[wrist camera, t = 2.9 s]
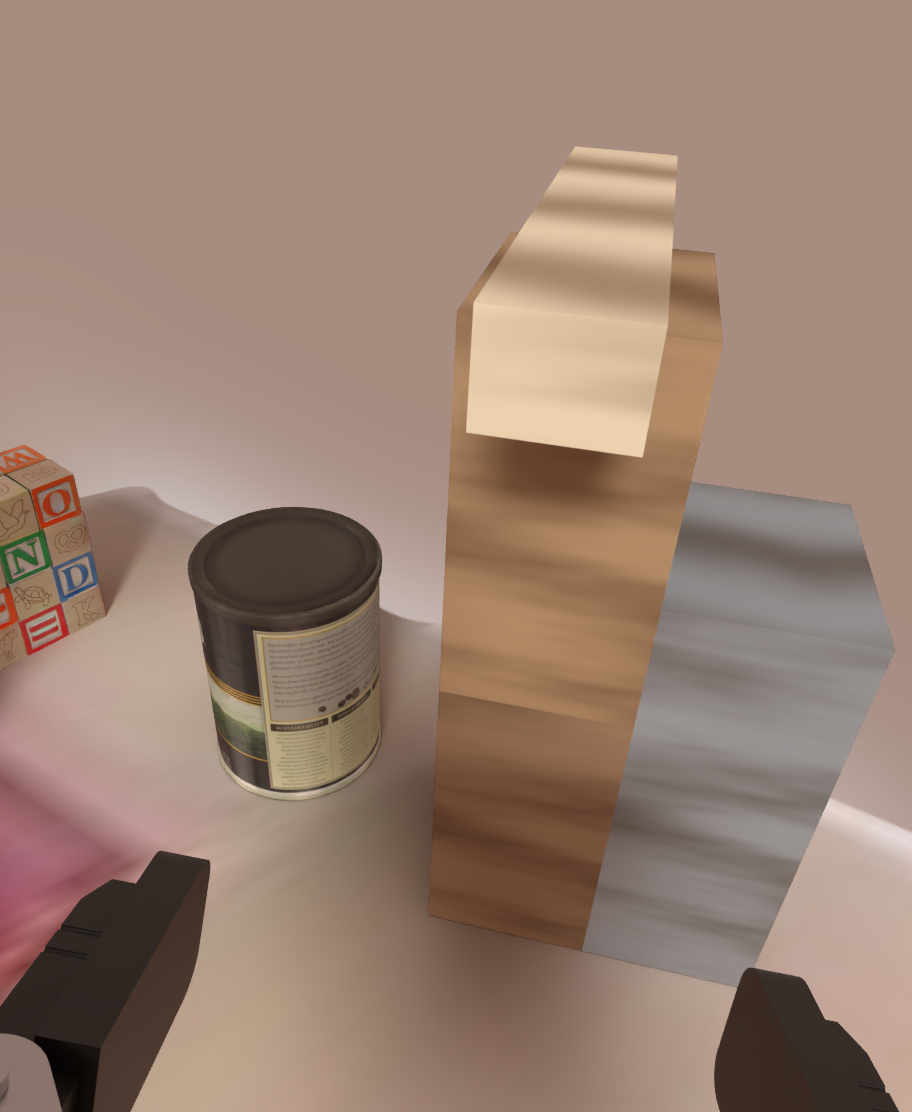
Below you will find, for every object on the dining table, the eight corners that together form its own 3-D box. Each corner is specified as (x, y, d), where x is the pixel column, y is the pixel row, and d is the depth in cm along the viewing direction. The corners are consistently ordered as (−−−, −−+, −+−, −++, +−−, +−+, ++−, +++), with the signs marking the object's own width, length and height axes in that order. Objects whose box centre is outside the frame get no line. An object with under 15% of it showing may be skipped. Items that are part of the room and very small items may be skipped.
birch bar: (566, 225, 36) (575, 146, 34) (663, 234, 35) (677, 155, 33) (466, 432, 20) (473, 302, 18) (642, 457, 19) (667, 325, 17)
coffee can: (189, 786, 51) (151, 597, 43) (254, 670, 59) (233, 495, 51) (356, 817, 49) (351, 629, 41) (399, 695, 58) (401, 519, 50)
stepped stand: (468, 770, 53) (511, 232, 34) (735, 825, 50) (933, 276, 32) (428, 915, 45) (456, 310, 26) (744, 988, 42) (1017, 378, 24)
